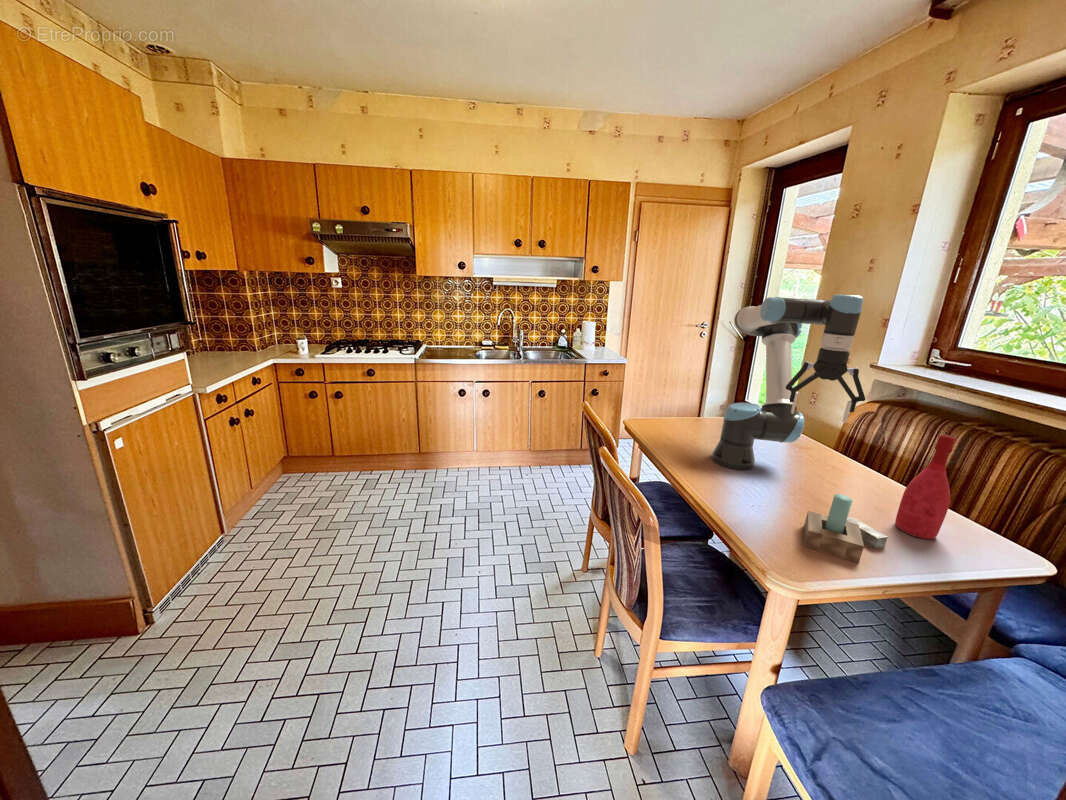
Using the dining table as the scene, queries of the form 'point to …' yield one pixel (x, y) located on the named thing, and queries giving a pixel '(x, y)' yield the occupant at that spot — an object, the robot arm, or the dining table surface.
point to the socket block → (833, 538)
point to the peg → (838, 513)
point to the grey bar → (870, 534)
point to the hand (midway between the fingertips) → (817, 417)
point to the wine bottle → (927, 496)
